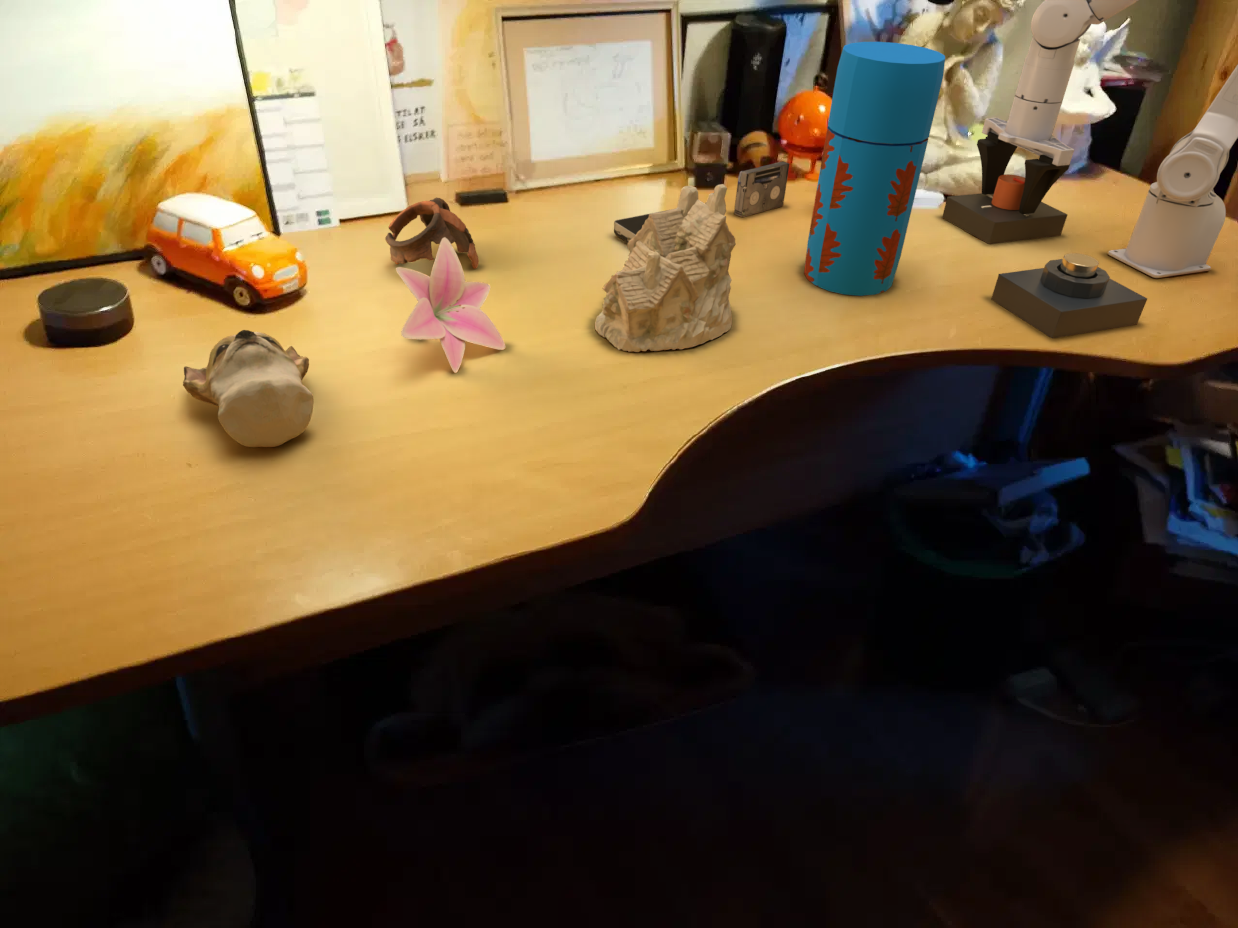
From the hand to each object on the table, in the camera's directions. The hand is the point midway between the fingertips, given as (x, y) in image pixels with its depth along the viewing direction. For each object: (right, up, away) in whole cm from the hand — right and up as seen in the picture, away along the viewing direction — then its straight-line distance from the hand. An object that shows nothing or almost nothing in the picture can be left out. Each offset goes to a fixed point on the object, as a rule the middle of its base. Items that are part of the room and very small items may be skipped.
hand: (1007, 203), depth 122 cm
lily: (-69, -24, -33) cm, 80 cm away
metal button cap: (-2, -14, -22) cm, 26 cm away
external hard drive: (-47, -7, -6) cm, 48 cm away
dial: (0, 0, 0) cm, 0 cm away
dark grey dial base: (0, -3, +2) cm, 3 cm away
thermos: (-25, -13, -14) cm, 32 cm away
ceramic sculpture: (-84, -31, -43) cm, 99 cm away
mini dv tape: (-33, 0, +3) cm, 33 cm away
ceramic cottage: (-48, -19, -24) cm, 57 cm away
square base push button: (-2, -18, -19) cm, 27 cm away
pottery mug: (-74, -12, -15) cm, 76 cm away
